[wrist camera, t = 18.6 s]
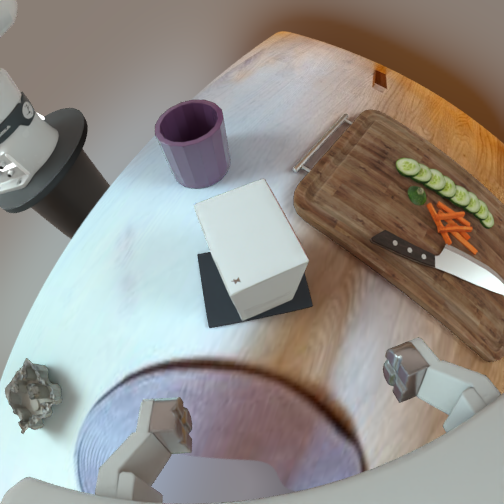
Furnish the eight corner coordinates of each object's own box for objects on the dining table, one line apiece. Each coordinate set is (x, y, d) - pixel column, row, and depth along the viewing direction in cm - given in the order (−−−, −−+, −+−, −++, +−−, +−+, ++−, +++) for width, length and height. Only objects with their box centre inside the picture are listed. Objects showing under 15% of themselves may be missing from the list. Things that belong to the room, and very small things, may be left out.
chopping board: (534, 245, 33) (543, 239, 30) (502, 376, 26) (515, 375, 23) (356, 103, 44) (359, 91, 41) (269, 196, 37) (269, 183, 35)
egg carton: (38, 433, 26) (21, 437, 22) (15, 394, 28) (-3, 393, 24) (69, 398, 28) (51, 400, 24) (43, 356, 30) (24, 353, 26)
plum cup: (174, 194, 38) (154, 153, 30) (171, 150, 41) (155, 108, 33) (234, 181, 39) (227, 136, 30) (225, 138, 42) (218, 94, 33)
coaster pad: (209, 327, 32) (208, 327, 31) (198, 255, 35) (197, 254, 34) (312, 306, 32) (312, 305, 32) (293, 236, 35) (293, 235, 35)
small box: (293, 299, 32) (312, 262, 20) (242, 322, 31) (228, 298, 19) (264, 239, 35) (264, 175, 23) (215, 259, 34) (190, 204, 22)
